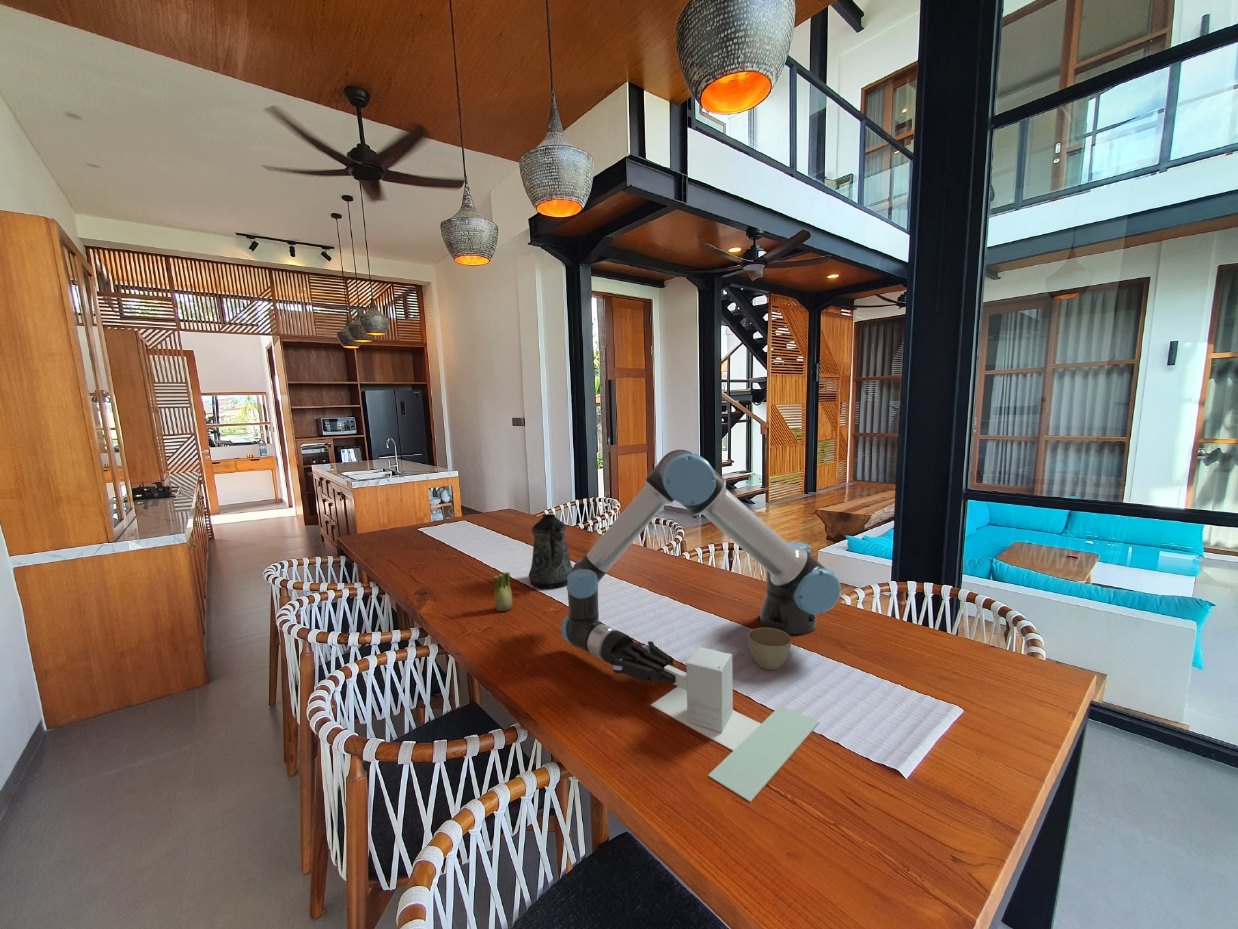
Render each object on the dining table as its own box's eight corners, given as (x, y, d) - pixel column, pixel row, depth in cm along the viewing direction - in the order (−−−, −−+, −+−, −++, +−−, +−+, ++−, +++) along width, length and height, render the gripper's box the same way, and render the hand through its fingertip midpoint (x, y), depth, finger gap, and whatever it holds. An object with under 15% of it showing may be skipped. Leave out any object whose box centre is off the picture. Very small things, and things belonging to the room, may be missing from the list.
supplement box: (733, 712, 98) (733, 653, 96) (721, 734, 92) (721, 671, 90) (699, 701, 102) (699, 645, 100) (685, 722, 95) (685, 662, 94)
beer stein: (551, 571, 188) (548, 508, 185) (589, 580, 177) (586, 513, 174) (519, 584, 175) (515, 517, 172) (558, 595, 163) (555, 523, 160)
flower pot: (794, 677, 110) (794, 648, 109) (749, 674, 112) (749, 645, 111) (788, 655, 120) (788, 628, 119) (746, 652, 122) (746, 625, 121)
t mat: (624, 724, 96) (624, 723, 96) (701, 670, 114) (701, 670, 114) (750, 802, 76) (750, 801, 76) (819, 723, 94) (819, 722, 94)
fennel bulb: (496, 614, 150) (493, 577, 148) (493, 608, 154) (491, 572, 153) (514, 610, 152) (512, 574, 151) (511, 605, 156) (509, 569, 155)
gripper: (630, 650, 120) (709, 687, 103) (591, 671, 110) (670, 715, 94) (629, 621, 119) (709, 654, 102) (589, 640, 110) (669, 679, 93)
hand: (690, 683), depth 98 cm, fingers closed
